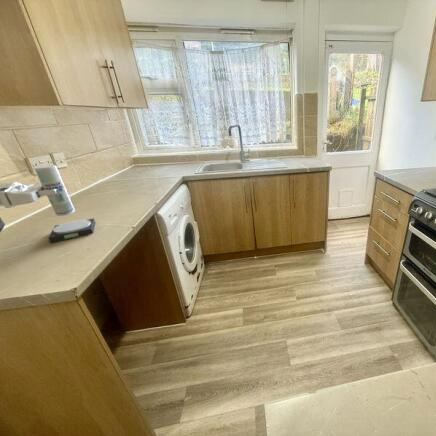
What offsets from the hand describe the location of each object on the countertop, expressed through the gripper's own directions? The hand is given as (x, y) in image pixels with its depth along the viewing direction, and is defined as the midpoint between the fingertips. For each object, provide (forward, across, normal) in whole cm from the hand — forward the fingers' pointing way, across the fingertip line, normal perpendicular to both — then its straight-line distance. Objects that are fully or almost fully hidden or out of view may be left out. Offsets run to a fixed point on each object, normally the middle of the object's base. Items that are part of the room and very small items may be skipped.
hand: (59, 189), depth 100 cm
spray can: (-2, -1, -11) cm, 11 cm away
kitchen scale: (-1, 0, -20) cm, 20 cm away
